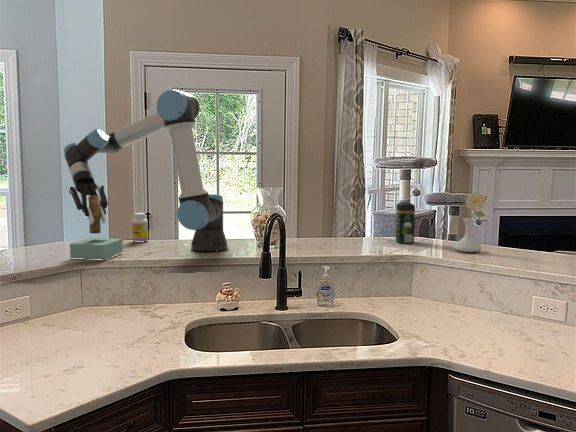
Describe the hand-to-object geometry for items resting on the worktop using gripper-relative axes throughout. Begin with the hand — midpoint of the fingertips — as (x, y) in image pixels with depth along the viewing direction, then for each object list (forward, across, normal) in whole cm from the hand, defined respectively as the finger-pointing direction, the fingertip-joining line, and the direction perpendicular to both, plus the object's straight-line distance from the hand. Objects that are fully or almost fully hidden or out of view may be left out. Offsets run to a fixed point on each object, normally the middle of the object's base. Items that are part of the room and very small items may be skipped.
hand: (98, 221), depth 206 cm
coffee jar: (+44, -122, +25) cm, 132 cm away
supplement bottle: (-8, -28, -28) cm, 40 cm away
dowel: (+1, 0, -6) cm, 6 cm away
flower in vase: (+66, -126, +47) cm, 149 cm away
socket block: (+8, 0, -12) cm, 14 cm away
